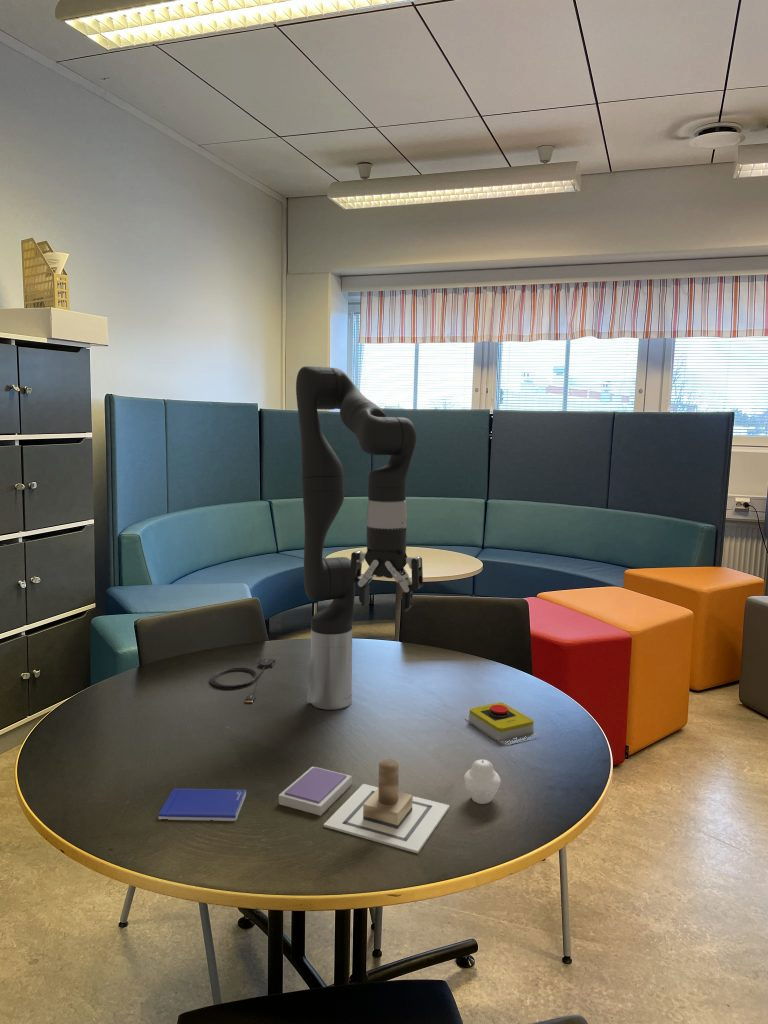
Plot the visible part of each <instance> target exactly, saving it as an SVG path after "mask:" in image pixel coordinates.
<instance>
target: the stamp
mask: <svg viewBox="0 0 768 1024" xmlns="http://www.w3.org/2000/svg"><path fill="white" fill-rule="evenodd" d="M399 766H400V764H399V762H398V761H396V760H393V759H384V760H381V761H380V762H378V789H377V790H376V791H375V792H374V793H373V794H372V795H371V796H370V798H369V799H368V800H367V801H366V802H365V803H364V804H363V820H367V821H371V822H374V823H378V824H382V825H385V826H389V827H393V828H396V829H398V828H399V827H400V825H401V824H402V823H403V821H404V820H405V819H406V818H407V816H408V815H409V814H410V812H411V811H412V801H413V794H410V793H406V792H402V791H399V772H400V767H399Z"/></svg>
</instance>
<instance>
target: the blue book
mask: <svg viewBox="0 0 768 1024" xmlns="http://www.w3.org/2000/svg"><path fill="white" fill-rule="evenodd" d="M246 796H247V789H219V788H218V789H216V788H215V789H214V788H212V789H211V788H209V789H208V788H205V789H204V788H173V789H172V791H170V794H169V795H168V797H167V799H166V801H165V802H164V804H163V805H162V808H161V809H160V810H159V812H158V820H161V819H168V820H169V821H170V820H173V821H210V820H213V821H217V822H219V821H221V822H225V821H226V822H236V821H237V819H238V816H239V813H240V811H241V809H242V806H243V804H244V801H245V798H246ZM168 820H167V821H168Z"/></svg>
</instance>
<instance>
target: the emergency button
mask: <svg viewBox="0 0 768 1024" xmlns="http://www.w3.org/2000/svg"><path fill="white" fill-rule="evenodd" d="M465 719H466V720H467V722H468V723H469V724H471V725H472V724H473V726H474V727H475V726H476V729H478V728H479V730H480V731H481V730H482V732H483V733H484V732H485V734H486V735H487V734H488V736H489V737H490V736H491V737H490V738H492V739H493V738H494V740H495V739H496V740H497V742H498V741H499V742H500V744H501V743H502V744H501V745H503V744H504V745H503V746H505V745H510V741H512V740H513V741H514V740H516V739H513V738H516V737H517V740H518V739H520V738H521V739H522V738H524V737H525V736H526V737H527V738H528V737H530V736H531V735H532V734H533V735H534V734H535V735H536V734H538V733H536V732H535V731H534V720H533V719H532V718H530V717H528V716H527V715H525V714H523V713H521V712H520V711H518V710H516V709H515V708H513V707H511V706H510V705H508V704H507V703H506V702H505V703H504V702H500V701H497V702H494V703H489V704H486V705H485V704H484V705H479V706H475V707H471V708H470V709H469V715H468V716H467V715H466V716H465V717H464V720H465ZM466 720H465V721H466ZM534 732H535V733H534ZM533 735H532V736H533ZM535 735H534V736H535ZM532 736H531V737H532ZM534 736H533V737H534ZM526 737H525V738H526ZM527 738H526V739H525V740H527ZM496 740H495V741H496ZM509 740H510V741H509ZM525 740H524V741H525ZM502 741H503V742H502ZM505 741H506V742H507V741H509V742H508V743H509V744H508V743H506V742H505ZM521 741H523V740H521ZM521 741H520V742H521ZM518 742H519V741H518ZM505 743H506V744H505ZM511 743H512V742H511ZM516 743H517V742H516ZM512 744H513V743H512ZM510 746H511V745H510Z"/></svg>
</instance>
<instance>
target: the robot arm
mask: <svg viewBox="0 0 768 1024" xmlns="http://www.w3.org/2000/svg"><path fill="white" fill-rule="evenodd" d="M295 396H296V404H297V405H296V406H297V413H298V414H297V415H298V422H299V431H300V445H301V485H302V486H301V490H302V502H303V504H302V505H303V517H304V518H303V519H304V542H303V543H304V544H303V547H304V549H303V551H304V552H303V584H304V585H303V587H304V593H305V595H306V597H307V598H308V600H310V601H312V602H321V601H330V600H332V601H331V603H330V604H329V605H327V606H326V607H325V608H323V609H321V610H320V611H318V612H316V613H314V614H313V616H312V617H311V620H310V660H309V661H307V665H306V666H307V671H306V672H307V673H306V675H307V679H306V680H307V684H306V685H307V686H306V687H307V688H306V689H307V690H306V691H307V692H306V693H307V696H306V698H307V700H306V703H307V704H310V703H311V704H310V705H312V706H313V707H315V708H316V709H317V708H318V709H320V710H331V711H332V710H341V709H344V708H347V707H349V706H350V705H351V704H352V700H353V698H352V697H353V689H352V688H353V686H352V685H353V621H354V617H355V597H356V585H358V601H359V603H360V604H361V606H362V607H366V606H368V605H369V604H370V597H371V596H370V593H371V592H370V591H371V589H370V588H371V587H370V586H371V585H369V583H370V582H372V580H373V578H374V577H377V578H383V577H384V578H386V579H393V578H394V580H395V582H396V583H397V584H399V586H400V587H401V589H402V595H401V611H402V612H408V611H409V610H410V609H411V608H412V606H413V597H414V595H413V594H414V591H417V590H419V589H421V588H422V587H424V577H423V576H424V575H423V558H422V556H418V555H417V556H416V557H414V556H413V557H412V556H411V557H409V556H408V555H407V529H408V528H407V527H408V526H407V524H408V518H407V517H408V516H407V515H408V514H407V513H408V511H407V504H406V502H407V501H406V498H407V497H406V496H407V495H406V492H407V483H406V482H407V476H408V472H409V469H410V465H411V461H412V458H413V455H414V451H415V448H416V445H417V444H416V443H417V430H416V428H415V425H414V423H413V422H412V420H410V418H408V417H403V416H402V417H400V416H398V417H397V416H387V415H386V413H385V412H384V410H383V409H382V408H381V407H380V406H379V405H377V404H376V403H374V402H373V401H371V400H370V399H368V398H367V397H366V396H365V395H364V394H362V392H361V391H360V389H359V388H358V387H357V386H356V383H354V382H353V380H352V378H350V376H349V375H348V374H347V373H346V372H344V371H343V370H342V369H340V368H338V367H337V368H336V367H329V366H327V367H326V366H325V367H324V366H302V367H301V368H300V369H299V370H298V372H297V376H296V381H295ZM318 410H327V411H328V410H330V411H331V410H332V411H333V410H339V416H340V419H341V421H342V423H343V424H344V426H346V428H348V430H350V431H351V432H352V433H354V434H355V436H356V438H357V440H358V443H359V445H360V448H361V450H363V452H365V454H366V453H367V454H368V455H373V456H390V458H389V460H388V462H387V464H385V465H384V466H381V467H377V468H374V469H372V470H371V471H369V475H368V488H367V490H368V492H367V493H368V494H367V495H368V499H367V500H368V501H367V502H368V503H367V509H366V552H363V551H362V550H360V549H358V550H356V551H353V552H351V555H350V558H349V557H345V556H343V557H342V556H340V557H339V556H337V557H324V558H323V553H324V545H325V541H326V536H327V533H328V532H329V530H330V527H331V526H332V523H333V522H334V520H335V519H336V517H337V516H338V513H339V511H340V509H341V507H342V505H343V503H344V500H345V477H344V476H345V475H344V473H345V472H344V468H343V464H342V462H341V461H340V459H339V457H338V455H337V454H336V452H335V451H334V449H333V448H332V445H330V443H329V442H328V440H327V438H326V437H325V434H324V433H323V430H322V427H321V424H320V420H319V413H318ZM364 561H365V562H366V564H367V565H368V568H367V569H366V570H365V572H364V573H363V574H362V565H363V563H364ZM406 565H408V567H409V569H411V578H410V576H409V574H408V572H407V571H406V569H405V566H406Z"/></svg>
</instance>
